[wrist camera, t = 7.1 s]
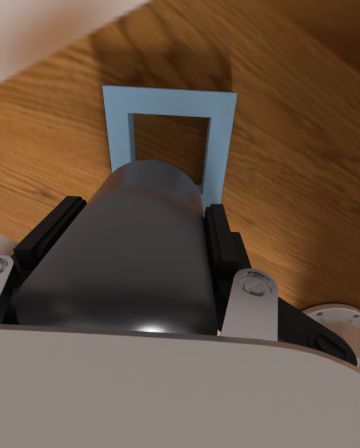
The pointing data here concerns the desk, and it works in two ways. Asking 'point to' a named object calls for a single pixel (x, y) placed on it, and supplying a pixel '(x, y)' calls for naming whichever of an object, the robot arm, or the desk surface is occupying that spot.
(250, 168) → the desk surface
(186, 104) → the collar
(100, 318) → the dark grey cylinder
